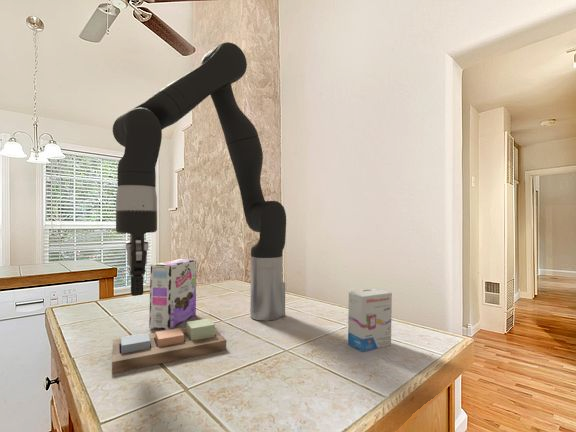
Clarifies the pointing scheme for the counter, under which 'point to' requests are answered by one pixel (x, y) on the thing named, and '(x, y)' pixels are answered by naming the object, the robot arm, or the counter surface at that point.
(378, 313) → the ink box
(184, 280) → the candy box
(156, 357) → the button board
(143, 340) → the squat grey square block
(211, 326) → the sage tile
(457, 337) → the counter surface
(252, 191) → the robot arm
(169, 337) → the terracotta tile
